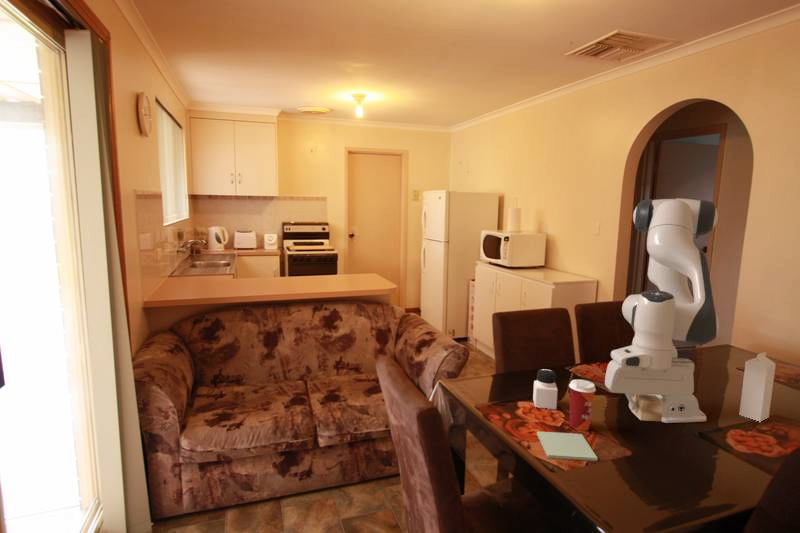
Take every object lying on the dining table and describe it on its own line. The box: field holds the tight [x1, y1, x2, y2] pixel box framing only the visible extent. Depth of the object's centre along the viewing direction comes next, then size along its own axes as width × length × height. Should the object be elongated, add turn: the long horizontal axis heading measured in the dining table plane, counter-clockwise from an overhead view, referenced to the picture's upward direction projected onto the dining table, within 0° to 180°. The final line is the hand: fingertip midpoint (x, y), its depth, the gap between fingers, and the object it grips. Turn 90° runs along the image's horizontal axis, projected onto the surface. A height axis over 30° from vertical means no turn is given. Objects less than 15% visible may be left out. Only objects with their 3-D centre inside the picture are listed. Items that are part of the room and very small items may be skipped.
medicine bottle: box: [532, 368, 559, 410], centre depth 151 cm, size 7×7×12 cm
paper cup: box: [568, 378, 597, 432], centre depth 136 cm, size 8×8×14 cm
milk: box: [738, 351, 777, 423], centre depth 145 cm, size 6×6×22 cm
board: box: [536, 431, 599, 462], centre depth 124 cm, size 13×13×1 cm
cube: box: [630, 394, 663, 422], centre depth 110 cm, size 5×5×5 cm
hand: (646, 409), depth 110 cm, fingers closed on cube, 5 cm apart
